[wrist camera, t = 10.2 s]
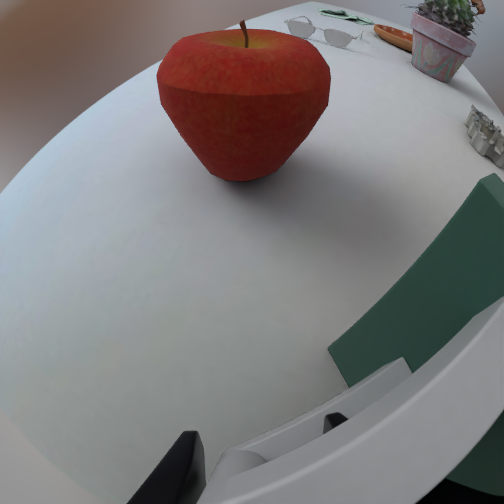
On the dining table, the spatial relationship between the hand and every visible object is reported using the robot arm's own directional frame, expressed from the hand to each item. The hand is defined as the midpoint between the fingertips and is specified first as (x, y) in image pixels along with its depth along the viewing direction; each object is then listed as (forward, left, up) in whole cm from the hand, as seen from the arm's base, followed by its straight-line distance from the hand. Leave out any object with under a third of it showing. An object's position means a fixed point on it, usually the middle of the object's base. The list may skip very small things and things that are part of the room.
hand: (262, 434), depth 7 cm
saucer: (+92, -26, -7) cm, 96 cm away
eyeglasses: (+72, -1, -7) cm, 72 cm away
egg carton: (+38, -27, -7) cm, 47 cm away
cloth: (+118, -7, -7) cm, 118 cm away
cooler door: (-3, -5, -7) cm, 9 cm away
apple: (+18, +5, -7) cm, 20 cm away
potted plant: (+68, -25, -7) cm, 73 cm away
